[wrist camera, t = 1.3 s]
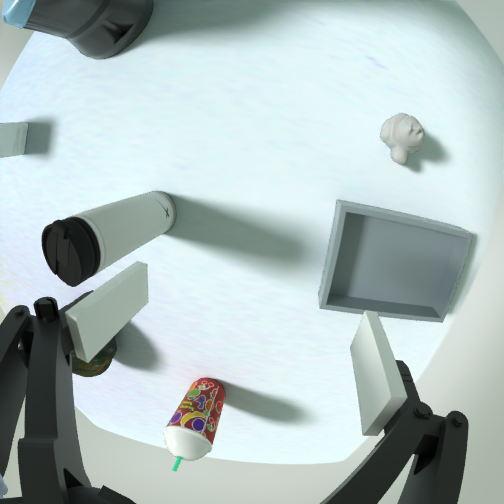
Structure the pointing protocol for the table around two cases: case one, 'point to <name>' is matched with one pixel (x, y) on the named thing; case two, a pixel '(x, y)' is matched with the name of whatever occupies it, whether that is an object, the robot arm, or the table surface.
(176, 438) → the smoothie
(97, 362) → the squash
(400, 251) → the bin
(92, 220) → the travel mug
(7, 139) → the supplement box
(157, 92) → the table surface
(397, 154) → the white animal figurine
